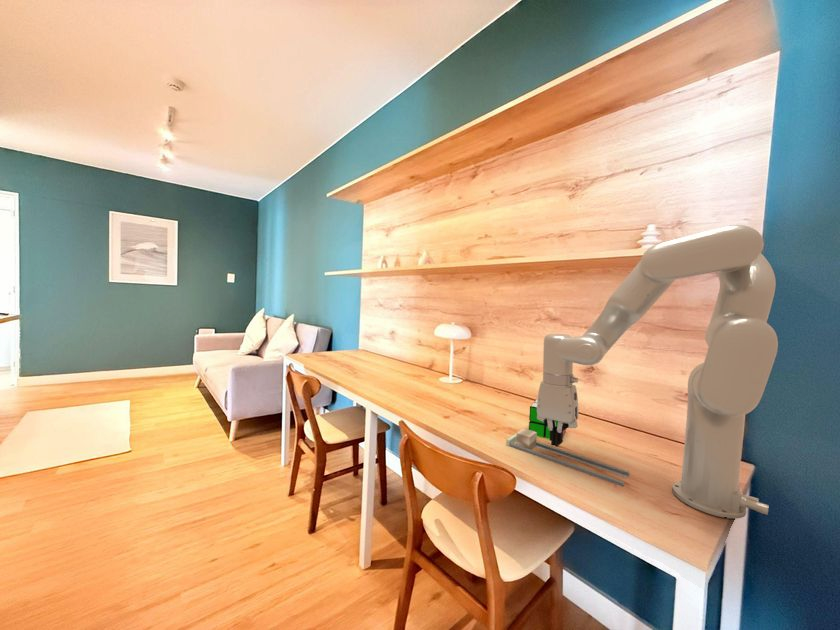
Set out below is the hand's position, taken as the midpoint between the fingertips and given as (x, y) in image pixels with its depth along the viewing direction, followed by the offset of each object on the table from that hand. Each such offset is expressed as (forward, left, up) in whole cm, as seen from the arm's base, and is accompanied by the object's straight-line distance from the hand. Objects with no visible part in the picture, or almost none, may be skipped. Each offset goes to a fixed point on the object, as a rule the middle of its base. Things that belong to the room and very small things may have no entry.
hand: (556, 444), depth 93 cm
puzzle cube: (+8, -15, -4) cm, 17 cm away
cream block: (+9, 0, -3) cm, 9 cm away
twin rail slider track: (-2, 0, -4) cm, 5 cm away
